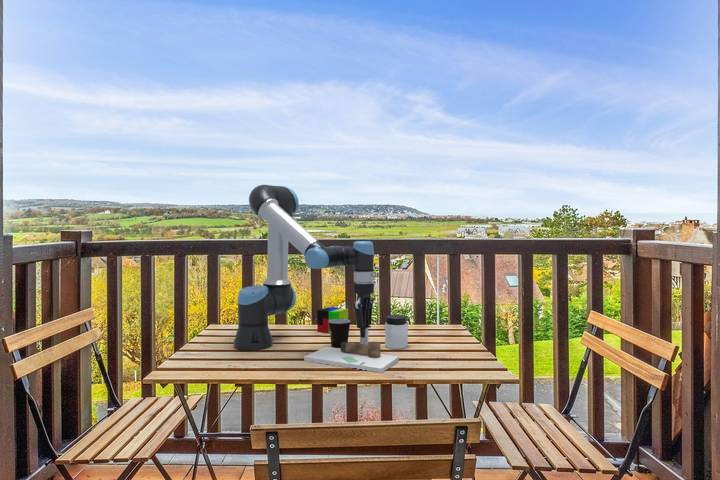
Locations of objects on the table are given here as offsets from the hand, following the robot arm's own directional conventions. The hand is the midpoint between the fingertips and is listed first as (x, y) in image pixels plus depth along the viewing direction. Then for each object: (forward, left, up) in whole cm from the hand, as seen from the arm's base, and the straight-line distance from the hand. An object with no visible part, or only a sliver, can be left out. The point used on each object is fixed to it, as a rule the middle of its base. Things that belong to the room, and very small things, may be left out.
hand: (364, 345), depth 170 cm
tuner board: (0, -10, -3) cm, 11 cm away
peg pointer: (+1, -6, -1) cm, 6 cm away
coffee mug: (-14, +7, -4) cm, 16 cm away
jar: (+7, +15, -4) cm, 17 cm away
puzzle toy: (-29, +27, -4) cm, 40 cm away
